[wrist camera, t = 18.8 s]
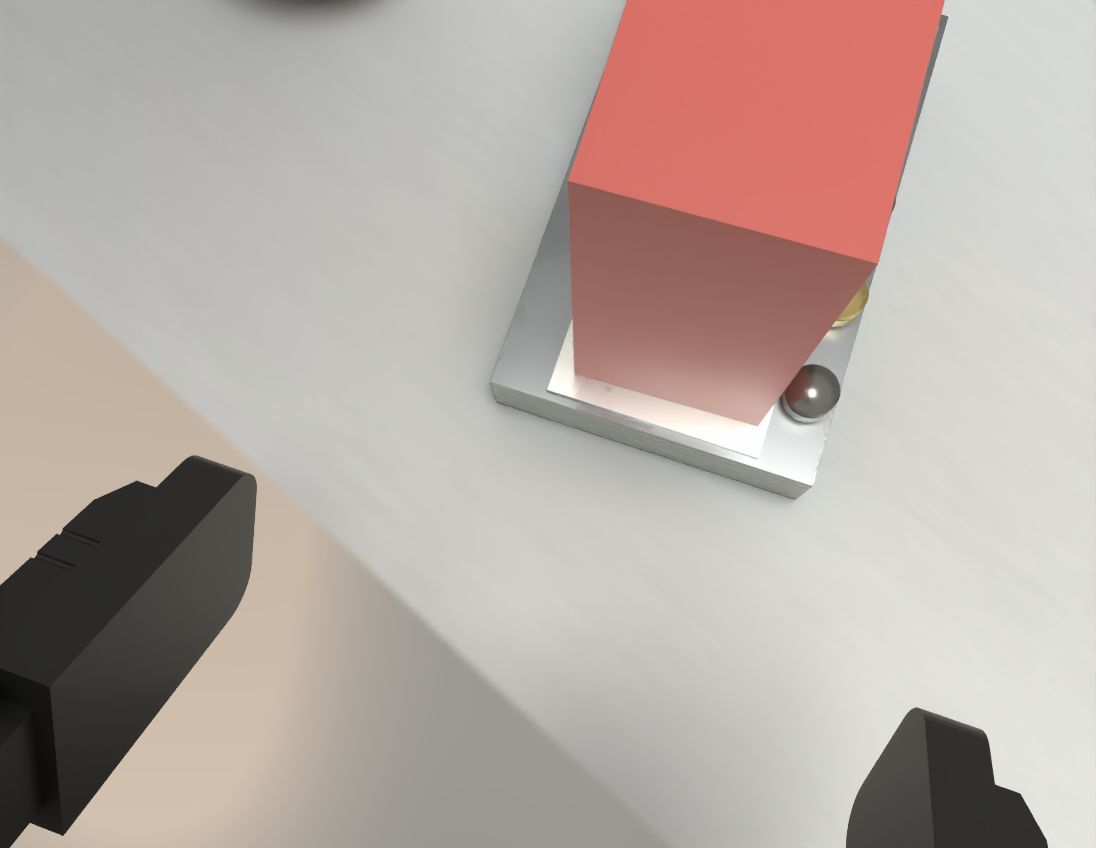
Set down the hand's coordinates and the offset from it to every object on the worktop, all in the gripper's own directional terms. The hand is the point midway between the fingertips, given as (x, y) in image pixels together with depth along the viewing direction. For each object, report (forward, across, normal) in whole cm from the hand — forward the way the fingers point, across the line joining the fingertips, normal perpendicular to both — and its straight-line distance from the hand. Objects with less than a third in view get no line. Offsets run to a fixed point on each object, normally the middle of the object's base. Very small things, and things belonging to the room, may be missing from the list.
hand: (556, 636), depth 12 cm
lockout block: (+14, 0, +2) cm, 14 cm away
